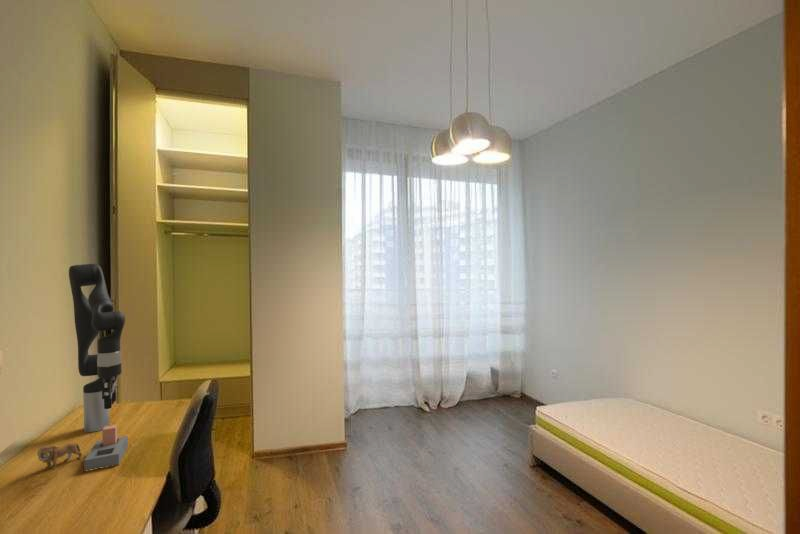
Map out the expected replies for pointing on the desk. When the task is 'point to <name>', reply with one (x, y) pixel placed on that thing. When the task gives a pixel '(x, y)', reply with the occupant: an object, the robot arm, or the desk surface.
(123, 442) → the pocket board
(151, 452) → the desk surface
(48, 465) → the lion figurine
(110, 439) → the peg
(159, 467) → the desk surface
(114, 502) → the desk surface
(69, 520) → the desk surface
